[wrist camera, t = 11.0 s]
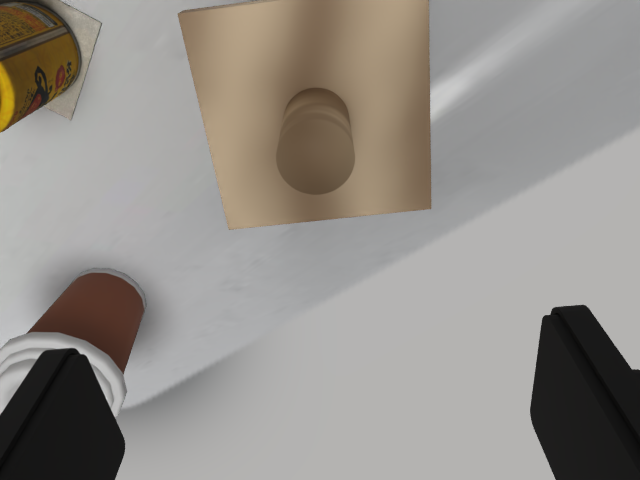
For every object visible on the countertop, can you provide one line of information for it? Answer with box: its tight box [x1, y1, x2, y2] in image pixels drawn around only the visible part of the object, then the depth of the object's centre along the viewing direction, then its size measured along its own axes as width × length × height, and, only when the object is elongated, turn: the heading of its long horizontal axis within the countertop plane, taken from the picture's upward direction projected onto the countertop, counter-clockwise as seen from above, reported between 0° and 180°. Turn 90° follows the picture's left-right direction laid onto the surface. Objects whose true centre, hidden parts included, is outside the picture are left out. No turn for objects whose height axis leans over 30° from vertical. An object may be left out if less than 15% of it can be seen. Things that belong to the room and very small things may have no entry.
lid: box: [178, 0, 431, 230], centre depth 24 cm, size 11×11×6 cm
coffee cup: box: [0, 268, 146, 417], centre depth 40 cm, size 9×9×12 cm
